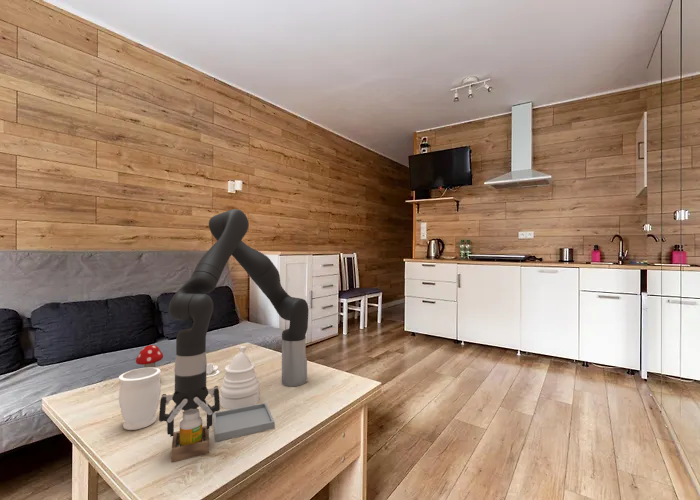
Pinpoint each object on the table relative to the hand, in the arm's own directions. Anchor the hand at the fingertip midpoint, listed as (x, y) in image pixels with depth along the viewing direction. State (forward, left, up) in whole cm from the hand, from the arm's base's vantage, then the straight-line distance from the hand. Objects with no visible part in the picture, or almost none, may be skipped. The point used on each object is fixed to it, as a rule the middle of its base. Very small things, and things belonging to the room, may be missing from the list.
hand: (190, 431), depth 87 cm
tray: (-14, -7, -5) cm, 16 cm away
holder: (0, 0, -5) cm, 5 cm away
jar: (+14, -20, -5) cm, 25 cm away
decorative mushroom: (+15, -51, -5) cm, 53 cm away
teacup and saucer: (-9, -54, -5) cm, 55 cm away
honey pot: (-15, -23, -5) cm, 28 cm away
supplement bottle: (0, 0, -5) cm, 5 cm away
